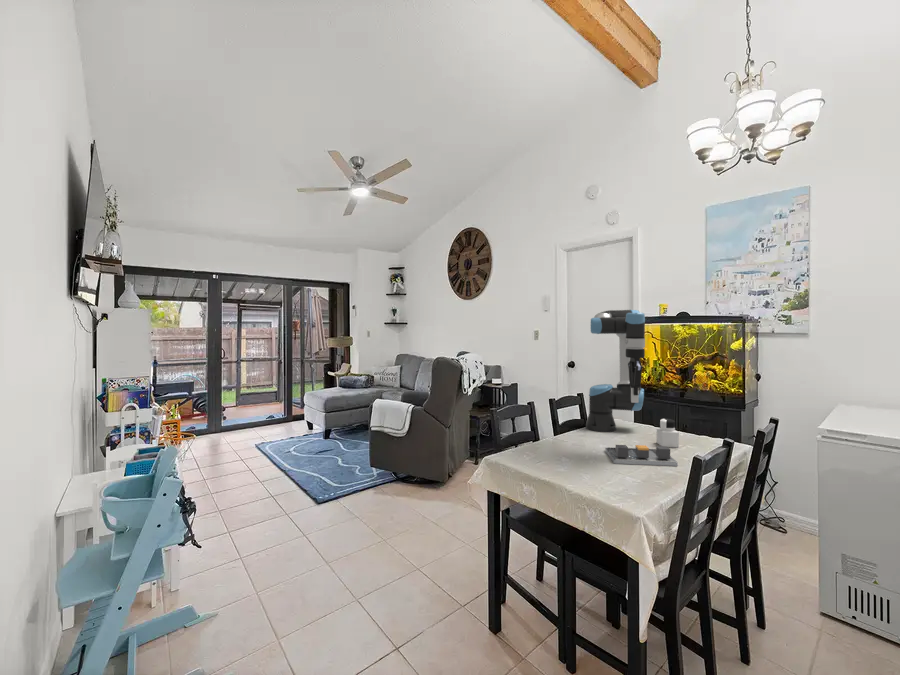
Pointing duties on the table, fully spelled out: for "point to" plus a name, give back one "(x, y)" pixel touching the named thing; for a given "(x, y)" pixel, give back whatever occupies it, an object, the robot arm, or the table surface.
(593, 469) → the table surface
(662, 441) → the medicine bottle
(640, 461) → the panel
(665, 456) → the block
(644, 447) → the block
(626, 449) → the breaker
